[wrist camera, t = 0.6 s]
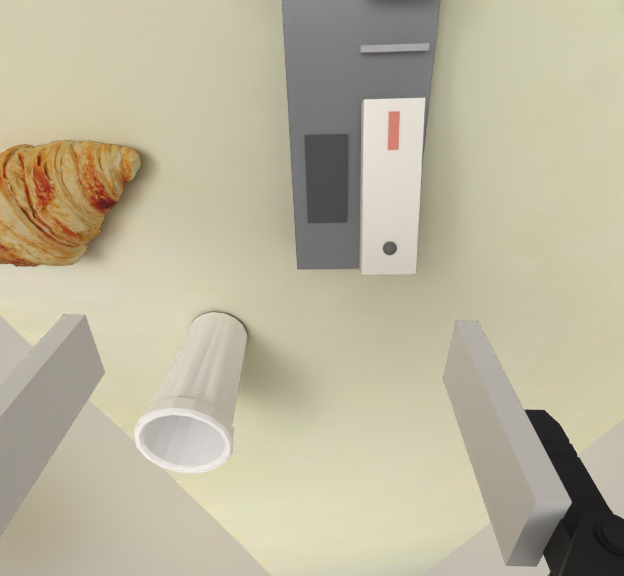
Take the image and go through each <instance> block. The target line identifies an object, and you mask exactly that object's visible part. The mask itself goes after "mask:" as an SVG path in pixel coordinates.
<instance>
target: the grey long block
mask: <svg viewBox="0 0 624 576" xmlns="http://www.w3.org/2000/svg"><path fill="white" fill-rule="evenodd" d="M439 7H440V0H282V10H283V28H284V45H285V63H286V80H287V97H288V115H289V132H290V150H291V167H292V184H293V202H294V219H295V237H296V254H297V269H357V268H360V186H361V103H362V101H363V100H364V99H396V98H425V112H424V131H423V150H422V162H423V152H424V143H425V134H426V125H427V116H428V107H429V98H430V89H431V80H432V71H433V62H434V52H435V43H436V34H437V25H438V16H439ZM421 171H422V169H421Z"/></svg>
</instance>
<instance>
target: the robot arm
mask: <svg viewBox="0 0 624 576" xmlns="http://www.w3.org/2000/svg"><path fill="white" fill-rule="evenodd" d="M104 373H105V371H104V368H103V365H102V362H101V359H100V356H99V353H98V351H97V348H96V345H95V342H94V339H93V336H92V333H91V330H90V327H89V324H88V321H87V319H86V316H85V315H73V314H64V315H63V316H62V317H61V318H60V319H59V320H58V322H57V323H56V324H55V325H54V326H53V327H52V328H51V329H50V330H49V331H48V333H47V334H46V335H45V336H44V337H43V338H42V339H41V340H40V341H39V342H38V344H37V345H36V346H35V347H34V348H33V349H32V350H31V351H30V352H29V354H28V355H27V356H26V357H25V358H24V359H23V360H22V361H21V362H20V363H19V365H18V366H17V367H16V368H15V369H14V370H13V371H12V372H11V373H10V374H9V376H8V377H7V378H6V379H5V380H4V381H3V382H2V383H1V384H0V537H1V535H2V534H3V531H4V530H5V529H6V527H7V525H8V524H9V523H10V521H11V519H12V518H13V516H14V515H15V513H16V512H17V510H18V508H19V506H20V505H21V504H22V502H23V501H24V499H25V497H26V496H27V494H28V493H29V491H30V489H31V488H32V486H33V485H34V483H35V482H36V480H37V479H38V477H39V475H40V474H41V472H42V470H43V469H44V467H45V466H46V464H47V463H48V461H49V460H50V458H51V456H52V455H53V453H54V452H55V450H56V449H57V447H58V445H59V444H60V442H61V441H62V439H63V438H64V436H65V434H66V433H67V431H68V430H69V428H70V427H71V425H72V423H73V422H74V420H75V419H76V417H77V416H78V414H79V412H80V411H81V409H82V407H83V406H84V405H85V403H86V401H87V400H88V398H89V397H90V395H91V394H92V392H93V390H94V389H95V387H96V386H97V384H98V383H99V381H100V379H101V378H102V376H103V375H104ZM443 380H444V383H445V386H446V389H447V392H448V395H449V398H450V401H451V404H452V407H453V410H454V413H455V416H456V419H457V422H458V425H459V428H460V431H461V434H462V437H463V440H464V443H465V446H466V449H467V452H468V455H469V458H470V461H471V464H472V467H473V470H474V473H475V476H476V479H477V482H478V485H479V488H480V491H481V494H482V497H483V500H484V503H485V506H486V509H487V512H488V515H489V518H490V521H491V524H492V526H493V529H494V532H495V535H496V538H497V541H498V544H499V547H500V550H501V553H502V556H503V559H504V562H505V565H506V566H534V567H535V566H537V565H538V563H539V561H540V559H541V557H542V556H543V555H544V557H545V559H546V562H547V564H548V566H549V569H550V571H551V572H550V573H549V575H548V576H624V519H622V518H621V517H619V516H617V515H614V514H613V513H612V511H611V510H610V509H609V507H608V505H607V504H606V502H605V500H604V499H603V497H602V495H601V493H600V492H599V490H598V488H597V487H596V485H595V483H594V482H593V480H592V478H591V476H590V475H589V473H588V471H587V470H586V468H585V466H584V465H583V463H582V462H581V460H580V458H579V457H577V453H576V451H575V449H574V448H573V446H572V444H570V443H569V439H568V437H567V436H566V434H565V432H564V431H563V429H562V427H561V426H560V424H559V423H558V422H557V421H556V420H555V419H553V418H552V417H551V416H550V415H549V414H548V413H547V412H546V411H545V410H524V409H523V407H522V405H521V403H520V401H519V399H518V397H517V395H516V393H515V391H514V389H513V387H512V385H511V384H510V382H509V380H508V378H507V376H506V374H505V372H504V370H503V368H502V366H501V364H500V362H499V360H498V358H497V357H496V355H495V353H494V351H493V349H492V347H491V345H490V343H489V341H488V339H487V337H486V335H485V333H484V331H483V330H482V328H481V326H480V324H479V322H478V321H469V320H456V322H455V326H454V331H453V335H452V340H451V344H450V349H449V354H448V358H447V363H446V367H445V372H444V376H443Z"/></svg>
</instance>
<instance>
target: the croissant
mask: <svg viewBox="0 0 624 576" xmlns="http://www.w3.org/2000/svg"><path fill="white" fill-rule="evenodd" d="M140 165H141V160H140V154H139V153H138V152H137V151H136V150H134V149H132V148H129V147H127V146H124V147H121V146H119V145H116V144H102V143H97V142H93V141H78V142H77V141H73V140H64V141H53V142H51V143H49V144H46V145H38V146H35V147H34V148H33V147H32V146H30V145H17V146H14V147H12V148H9V149H7V150H6V151H5V152H3V153H1V154H0V264H13V265H15V266H32V267H35V266H38V265H41V264H43V265H52V266H61V265H72V264H74V263H76V262H78V261H79V260H80V258H81V257H82V256H83V255H84V254H85V253H86V250H87V247H88V243H89V242H90V241H92V240H93V239H94V237H96V236H97V235H98V234H100V233H101V224H102V222H103V220H104V217H105V215H106V213H107V212H108V211H109V210H110V209H111V208H112V207H113V206H115V205H116V204H117V203H118V202H119V198H120V196H121V193H122V192H123V190H124V189H123V188H124V184H125V183H126V182H127V183H128V182H130V181H131V180H133V178H134V177H135V174H136V172H137V171H138V169H140Z"/></svg>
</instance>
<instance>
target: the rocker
mask: <svg viewBox="0 0 624 576" xmlns="http://www.w3.org/2000/svg"><path fill="white" fill-rule="evenodd" d="M424 112H425V98H396V99H364V100H363V101H362V103H361V186H360V271H361V274H362V275H393V274H416V263H417V244H418V225H419V206H420V188H421V169H422V150H423V131H424Z"/></svg>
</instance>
